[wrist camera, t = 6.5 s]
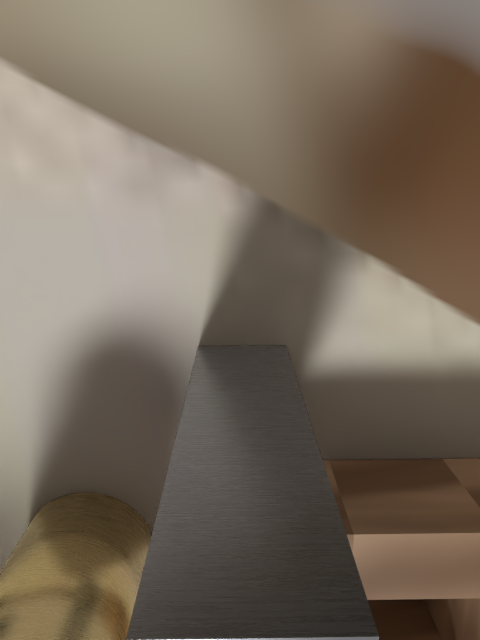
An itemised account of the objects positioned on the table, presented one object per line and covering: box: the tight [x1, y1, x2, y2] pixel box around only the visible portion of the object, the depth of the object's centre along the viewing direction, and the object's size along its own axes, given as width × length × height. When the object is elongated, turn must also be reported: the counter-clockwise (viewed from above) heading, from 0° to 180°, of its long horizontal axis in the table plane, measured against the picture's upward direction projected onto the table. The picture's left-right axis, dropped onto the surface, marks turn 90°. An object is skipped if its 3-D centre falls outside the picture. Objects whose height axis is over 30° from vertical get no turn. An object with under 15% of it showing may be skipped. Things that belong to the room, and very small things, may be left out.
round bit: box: [0, 492, 152, 640], centre depth 19 cm, size 7×7×9 cm
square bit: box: [126, 345, 379, 640], centre depth 14 cm, size 4×4×14 cm
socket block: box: [323, 458, 480, 640], centre depth 21 cm, size 12×12×5 cm
